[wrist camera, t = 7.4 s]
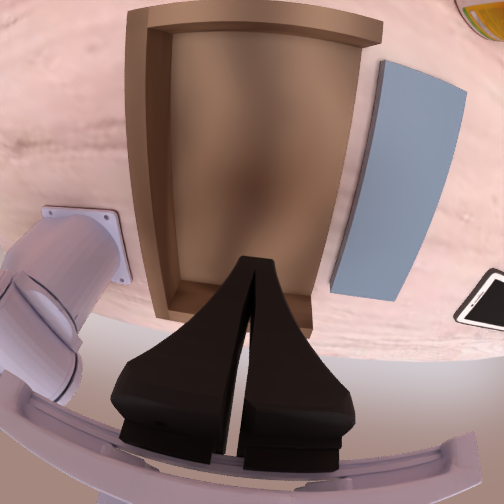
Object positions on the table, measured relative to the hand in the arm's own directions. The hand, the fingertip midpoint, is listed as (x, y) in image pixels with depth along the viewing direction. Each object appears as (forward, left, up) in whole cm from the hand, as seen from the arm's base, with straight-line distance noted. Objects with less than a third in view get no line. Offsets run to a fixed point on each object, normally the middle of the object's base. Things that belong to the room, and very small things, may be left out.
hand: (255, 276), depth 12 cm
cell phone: (+30, -9, -10) cm, 33 cm away
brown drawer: (-1, +1, -9) cm, 10 cm away
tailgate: (+6, +1, -9) cm, 11 cm away
